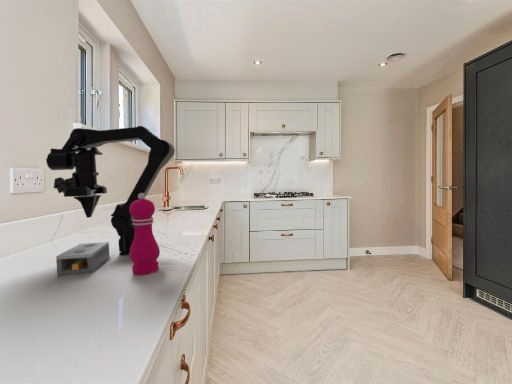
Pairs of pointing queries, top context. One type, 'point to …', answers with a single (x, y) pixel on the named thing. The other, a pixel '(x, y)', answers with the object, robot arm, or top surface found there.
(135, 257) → the pepper mill
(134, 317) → the top surface
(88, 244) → the lid
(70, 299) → the top surface
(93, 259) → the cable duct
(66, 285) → the top surface
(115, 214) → the robot arm
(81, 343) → the top surface
